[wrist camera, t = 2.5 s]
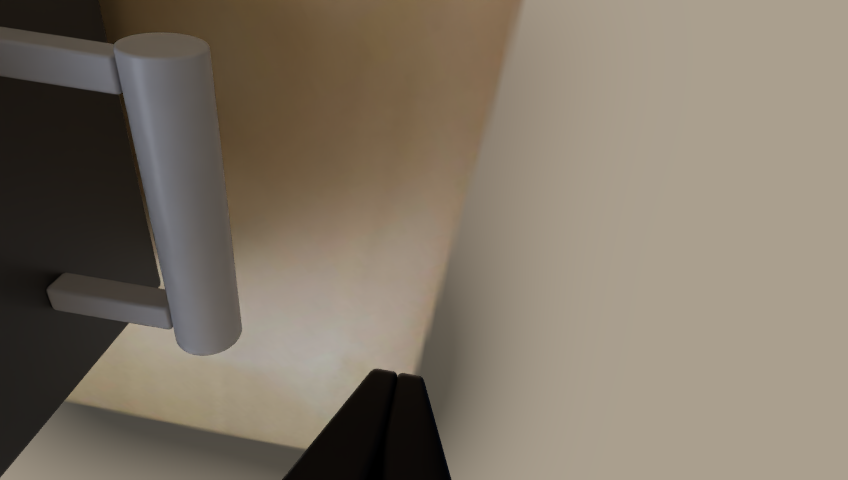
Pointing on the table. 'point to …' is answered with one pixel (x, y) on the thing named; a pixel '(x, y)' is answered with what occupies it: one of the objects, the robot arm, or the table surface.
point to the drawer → (103, 203)
